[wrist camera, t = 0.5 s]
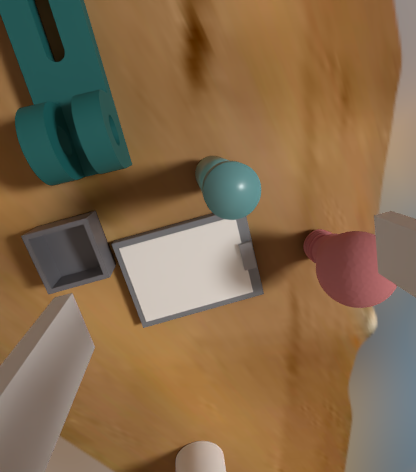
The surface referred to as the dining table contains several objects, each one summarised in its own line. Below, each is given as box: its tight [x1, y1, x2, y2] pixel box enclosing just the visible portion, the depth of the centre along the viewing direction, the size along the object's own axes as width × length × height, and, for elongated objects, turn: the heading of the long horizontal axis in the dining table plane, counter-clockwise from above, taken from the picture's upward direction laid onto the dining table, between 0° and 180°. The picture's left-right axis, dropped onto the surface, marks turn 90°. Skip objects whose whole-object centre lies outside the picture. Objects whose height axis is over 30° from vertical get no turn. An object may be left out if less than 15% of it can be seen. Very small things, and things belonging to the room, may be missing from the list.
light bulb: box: [303, 229, 397, 308], centre depth 31 cm, size 7×7×12 cm
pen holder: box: [21, 211, 116, 294], centre depth 33 cm, size 7×7×4 cm
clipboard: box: [112, 213, 264, 328], centre depth 36 cm, size 11×15×2 cm
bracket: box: [0, 0, 132, 185], centre depth 26 cm, size 18×7×8 cm, turn 13°
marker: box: [195, 156, 261, 220], centre depth 27 cm, size 4×4×14 cm
